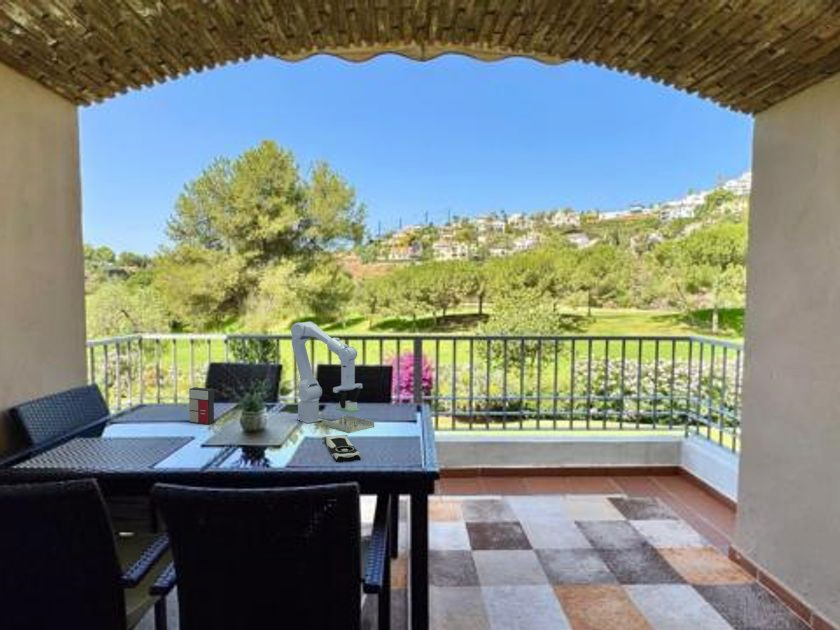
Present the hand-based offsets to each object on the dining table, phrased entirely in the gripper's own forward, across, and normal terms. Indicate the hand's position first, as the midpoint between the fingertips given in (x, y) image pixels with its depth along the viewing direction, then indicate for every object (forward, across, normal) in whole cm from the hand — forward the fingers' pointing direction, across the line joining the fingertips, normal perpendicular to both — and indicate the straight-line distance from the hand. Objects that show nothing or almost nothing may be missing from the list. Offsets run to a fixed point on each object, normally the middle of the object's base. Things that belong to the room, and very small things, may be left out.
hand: (348, 406), depth 246 cm
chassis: (+8, 0, 0) cm, 8 cm away
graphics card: (+9, -25, -26) cm, 37 cm away
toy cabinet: (+8, -42, +49) cm, 65 cm away
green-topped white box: (+2, 0, 0) cm, 2 cm away
